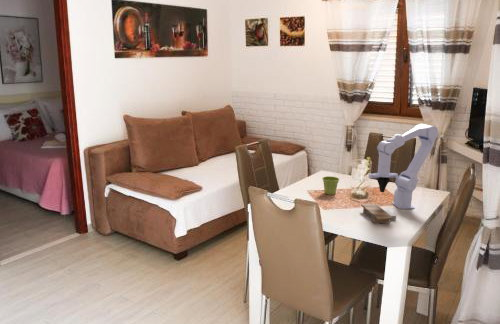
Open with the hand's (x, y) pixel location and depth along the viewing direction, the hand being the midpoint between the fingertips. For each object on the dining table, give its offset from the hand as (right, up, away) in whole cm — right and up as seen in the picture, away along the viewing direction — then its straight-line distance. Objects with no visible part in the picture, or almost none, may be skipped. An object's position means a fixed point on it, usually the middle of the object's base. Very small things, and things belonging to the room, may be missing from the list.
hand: (381, 191), depth 228 cm
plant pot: (-21, -3, +28) cm, 35 cm away
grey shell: (-2, -12, -9) cm, 15 cm away
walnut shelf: (-5, -12, -9) cm, 16 cm away
